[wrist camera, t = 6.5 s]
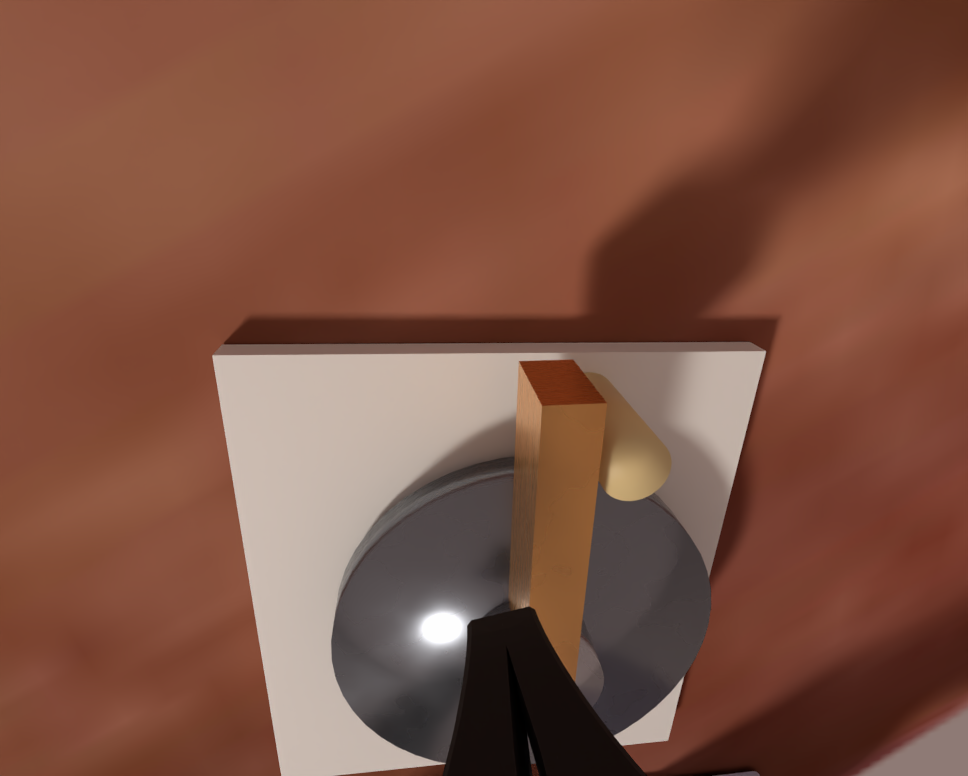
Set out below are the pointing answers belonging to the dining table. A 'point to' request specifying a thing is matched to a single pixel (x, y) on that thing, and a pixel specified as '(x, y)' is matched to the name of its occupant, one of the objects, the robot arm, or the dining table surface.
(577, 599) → the dial
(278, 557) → the base board
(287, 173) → the dining table surface
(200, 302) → the dining table surface
